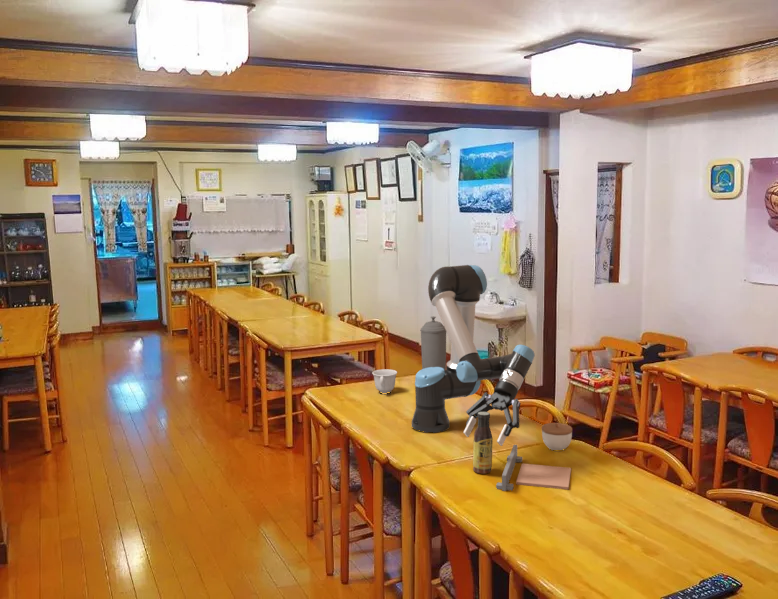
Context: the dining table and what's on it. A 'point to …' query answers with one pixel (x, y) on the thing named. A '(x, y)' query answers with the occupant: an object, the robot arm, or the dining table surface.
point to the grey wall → (509, 470)
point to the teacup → (384, 379)
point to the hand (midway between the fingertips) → (482, 439)
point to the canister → (433, 344)
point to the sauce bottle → (482, 445)
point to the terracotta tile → (544, 476)
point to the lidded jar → (556, 435)
